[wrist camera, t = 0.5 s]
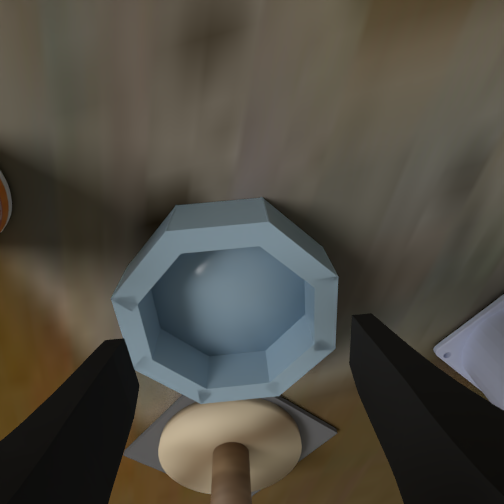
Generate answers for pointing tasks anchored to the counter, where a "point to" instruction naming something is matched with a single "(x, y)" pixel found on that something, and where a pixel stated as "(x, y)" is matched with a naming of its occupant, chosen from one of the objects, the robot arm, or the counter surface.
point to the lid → (230, 448)
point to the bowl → (228, 302)
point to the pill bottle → (4, 202)
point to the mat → (148, 442)
